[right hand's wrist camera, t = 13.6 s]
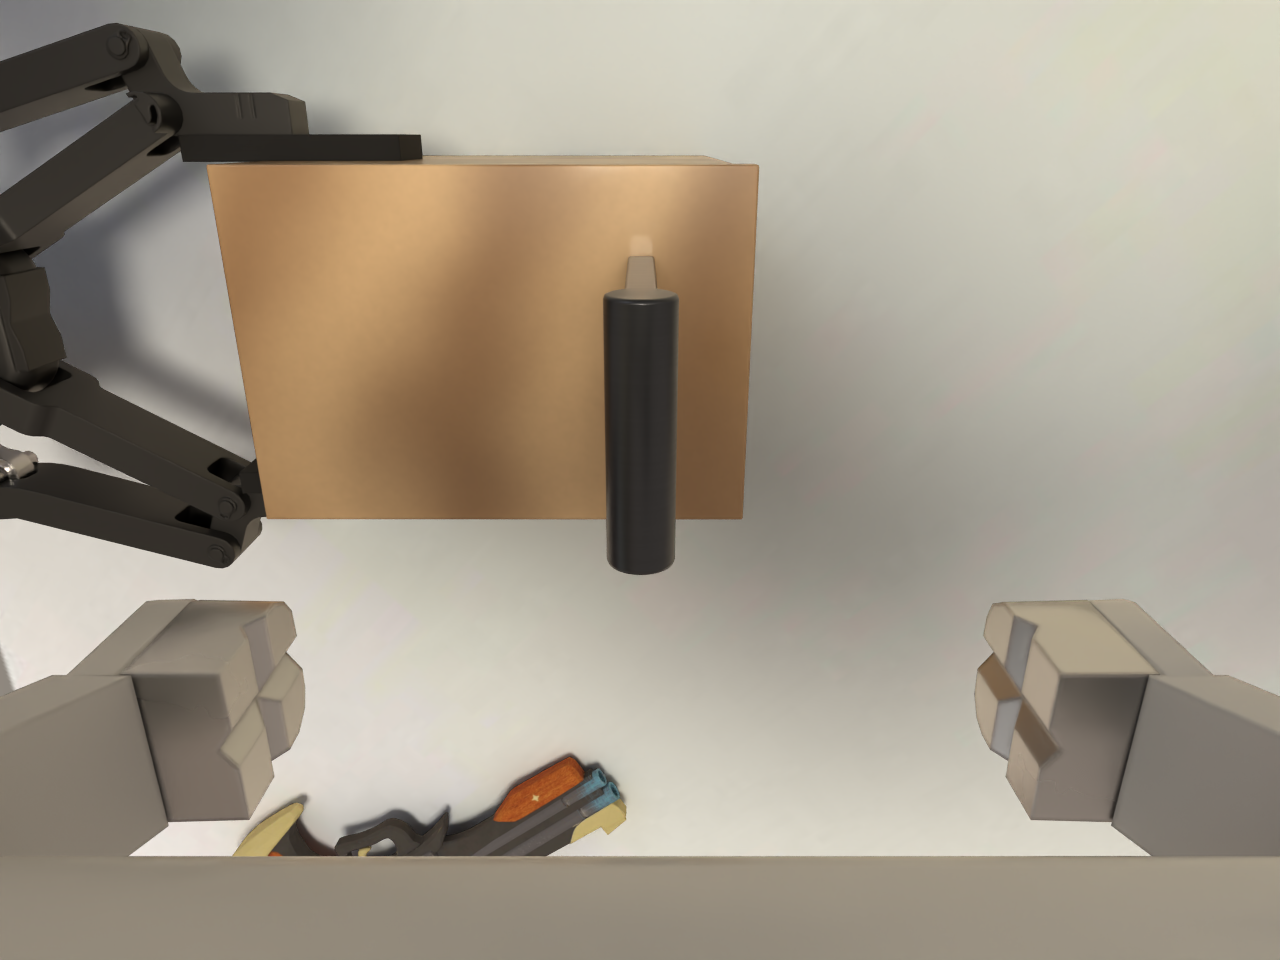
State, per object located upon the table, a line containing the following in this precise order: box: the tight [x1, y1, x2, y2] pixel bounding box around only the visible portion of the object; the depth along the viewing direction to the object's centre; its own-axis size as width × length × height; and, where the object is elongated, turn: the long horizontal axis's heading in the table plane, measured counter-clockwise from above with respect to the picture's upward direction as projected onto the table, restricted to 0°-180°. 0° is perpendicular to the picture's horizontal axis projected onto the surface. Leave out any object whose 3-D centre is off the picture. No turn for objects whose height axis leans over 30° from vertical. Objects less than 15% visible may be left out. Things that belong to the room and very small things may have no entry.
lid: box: [207, 164, 759, 575], centre depth 21 cm, size 14×10×8 cm
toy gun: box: [233, 757, 626, 856], centre depth 44 cm, size 3×19×10 cm
